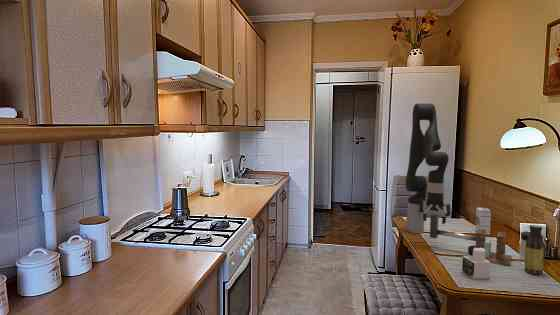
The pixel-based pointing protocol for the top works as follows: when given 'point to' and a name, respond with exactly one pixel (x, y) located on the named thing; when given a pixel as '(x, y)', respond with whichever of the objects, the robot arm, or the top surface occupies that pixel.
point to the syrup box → (483, 219)
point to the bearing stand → (500, 248)
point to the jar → (524, 244)
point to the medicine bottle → (476, 263)
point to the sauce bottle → (534, 251)
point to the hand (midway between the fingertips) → (434, 222)
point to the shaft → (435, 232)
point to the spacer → (487, 247)
